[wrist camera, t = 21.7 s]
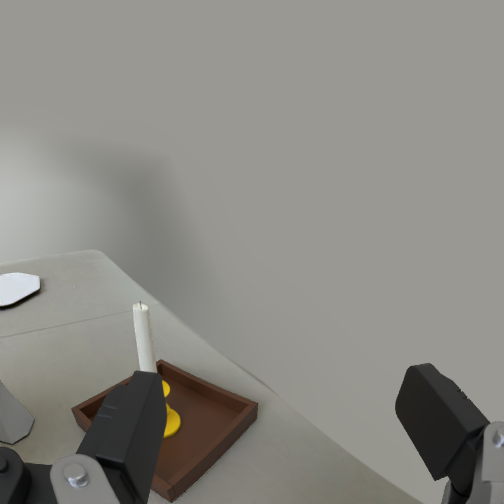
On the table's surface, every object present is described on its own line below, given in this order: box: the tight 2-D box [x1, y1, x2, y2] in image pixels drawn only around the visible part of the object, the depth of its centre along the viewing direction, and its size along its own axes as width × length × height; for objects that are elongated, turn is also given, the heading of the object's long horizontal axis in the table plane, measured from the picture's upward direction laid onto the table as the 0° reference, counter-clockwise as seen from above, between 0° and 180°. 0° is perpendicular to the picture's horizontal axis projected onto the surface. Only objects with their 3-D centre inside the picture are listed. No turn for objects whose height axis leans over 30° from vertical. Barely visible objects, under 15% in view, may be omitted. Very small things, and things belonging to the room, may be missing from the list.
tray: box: [71, 359, 258, 503], centre depth 29 cm, size 16×16×3 cm
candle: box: [133, 301, 181, 438], centre depth 27 cm, size 5×5×16 cm
